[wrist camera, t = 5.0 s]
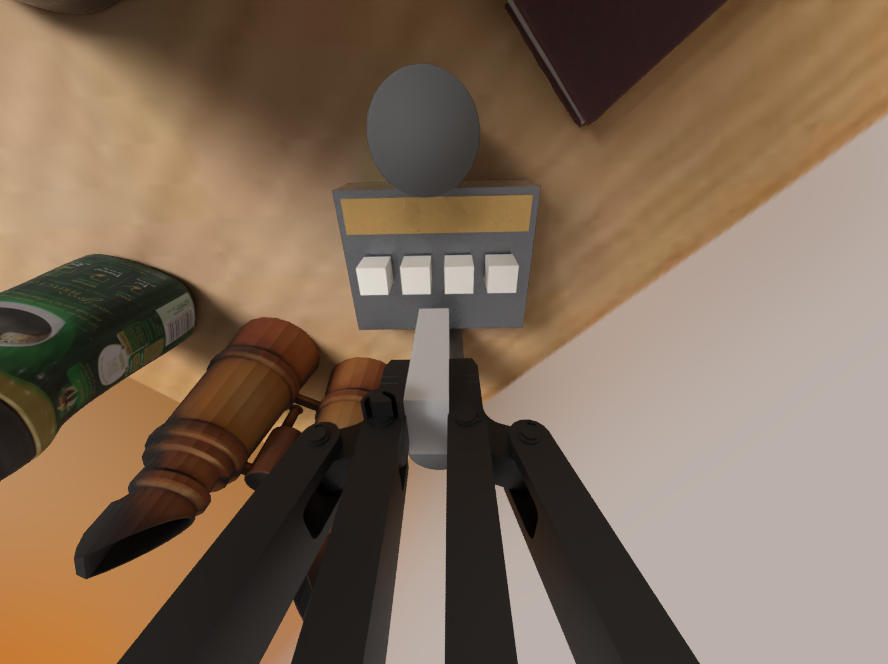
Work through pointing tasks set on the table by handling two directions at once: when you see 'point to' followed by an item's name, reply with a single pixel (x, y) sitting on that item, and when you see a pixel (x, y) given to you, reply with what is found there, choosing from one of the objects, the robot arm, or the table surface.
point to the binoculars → (225, 441)
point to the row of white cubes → (418, 274)
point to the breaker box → (439, 247)
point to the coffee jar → (79, 343)
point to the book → (603, 44)
